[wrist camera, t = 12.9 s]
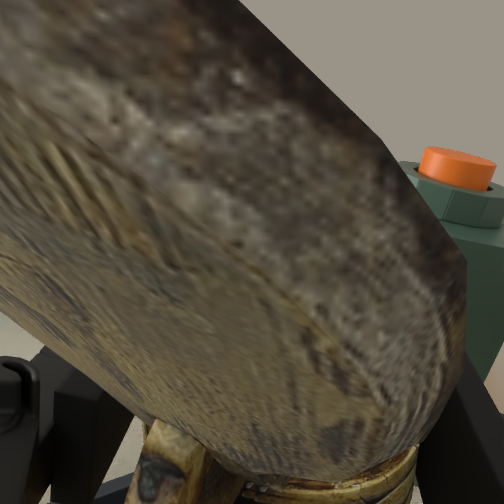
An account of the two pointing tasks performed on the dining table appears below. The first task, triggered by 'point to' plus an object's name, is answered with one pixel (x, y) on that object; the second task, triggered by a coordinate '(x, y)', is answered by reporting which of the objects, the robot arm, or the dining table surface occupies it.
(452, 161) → the button
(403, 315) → the wooden mug
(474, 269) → the post
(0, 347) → the dining table surface
